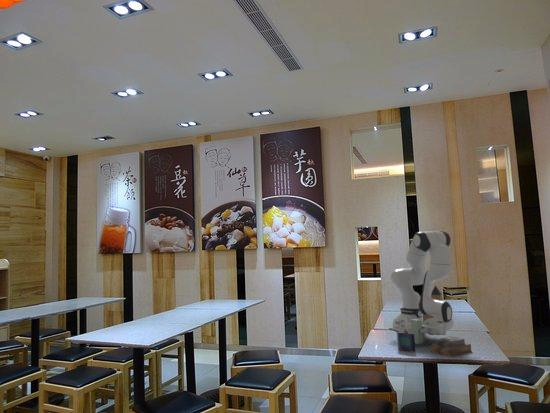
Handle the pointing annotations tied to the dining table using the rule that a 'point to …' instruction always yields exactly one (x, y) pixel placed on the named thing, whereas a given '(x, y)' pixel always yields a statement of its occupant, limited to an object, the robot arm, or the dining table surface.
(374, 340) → the dining table surface
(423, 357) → the dining table surface
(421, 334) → the sage column
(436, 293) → the toy building blocks
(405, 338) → the flask
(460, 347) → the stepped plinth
